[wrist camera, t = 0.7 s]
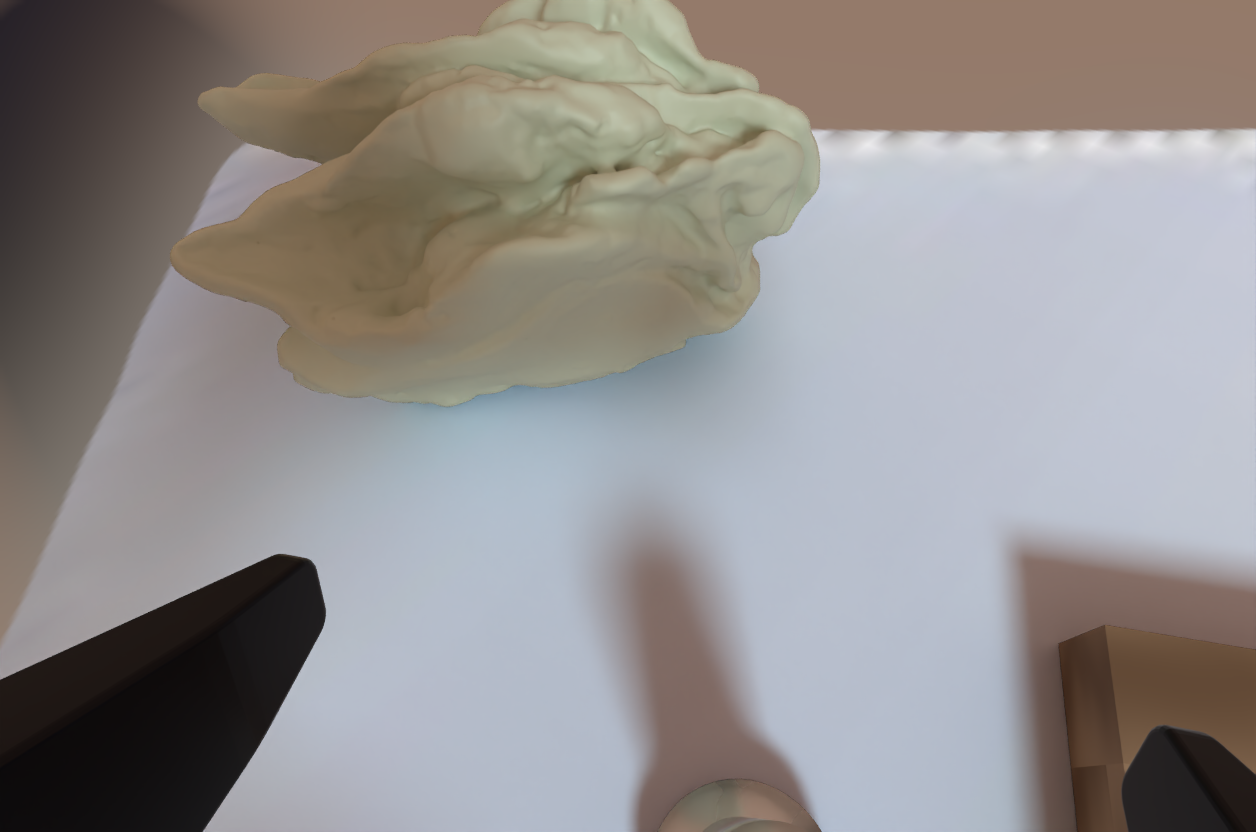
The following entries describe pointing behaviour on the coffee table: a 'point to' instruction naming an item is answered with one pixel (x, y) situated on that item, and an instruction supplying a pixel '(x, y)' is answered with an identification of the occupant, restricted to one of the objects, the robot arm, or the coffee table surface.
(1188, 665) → the keyhole plate
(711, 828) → the steel peg
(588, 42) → the folded clay sculpture
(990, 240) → the coffee table surface
